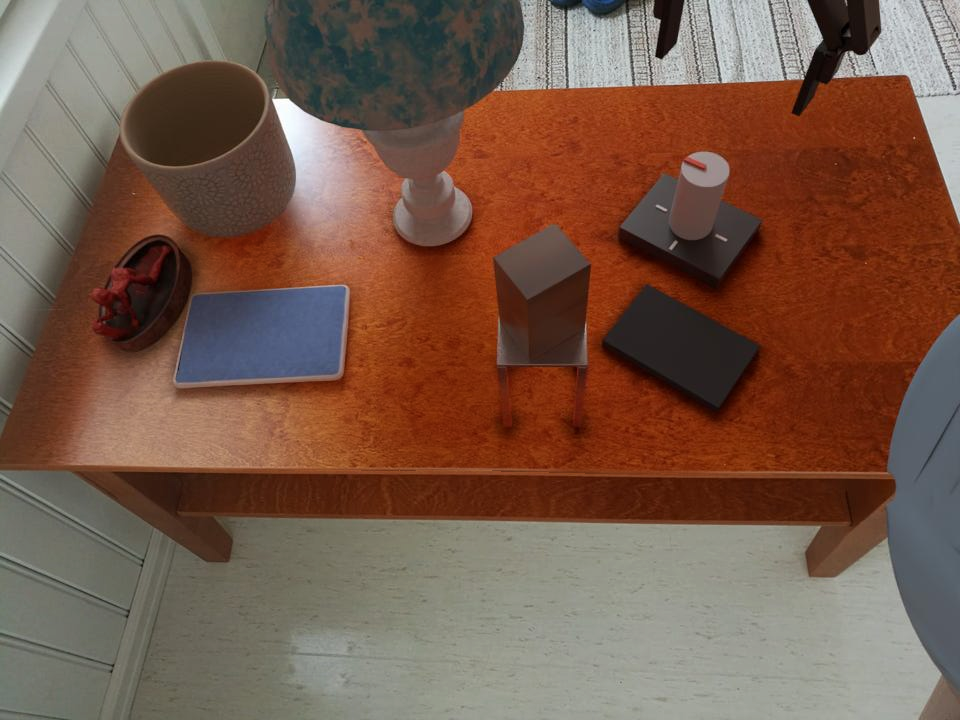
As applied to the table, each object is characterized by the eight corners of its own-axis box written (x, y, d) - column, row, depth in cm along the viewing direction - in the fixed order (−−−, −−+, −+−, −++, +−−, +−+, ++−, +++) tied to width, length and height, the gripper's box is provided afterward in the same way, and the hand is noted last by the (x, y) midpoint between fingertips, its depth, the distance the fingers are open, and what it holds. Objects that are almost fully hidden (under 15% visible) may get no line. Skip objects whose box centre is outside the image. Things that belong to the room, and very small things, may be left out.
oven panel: (758, 230, 87) (763, 218, 85) (715, 289, 84) (720, 278, 82) (661, 183, 91) (664, 171, 90) (617, 237, 88) (619, 226, 86)
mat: (757, 350, 80) (760, 345, 78) (716, 412, 76) (718, 408, 75) (645, 289, 84) (646, 283, 83) (601, 345, 81) (602, 340, 80)
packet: (499, 322, 67) (492, 256, 59) (553, 291, 69) (555, 222, 60) (529, 362, 65) (527, 300, 56) (585, 329, 66) (591, 264, 58)
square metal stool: (579, 360, 81) (585, 288, 68) (580, 427, 77) (587, 364, 65) (506, 359, 81) (499, 289, 69) (504, 426, 78) (496, 364, 65)
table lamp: (365, 138, 99) (268, -202, 64) (542, 153, 95) (541, -199, 60) (315, 285, 88) (164, -28, 53) (511, 308, 84) (489, -11, 49)
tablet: (174, 391, 83) (169, 385, 82) (193, 297, 89) (189, 291, 88) (344, 383, 82) (341, 377, 80) (352, 288, 88) (349, 281, 86)
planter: (297, 254, 90) (254, 167, 77) (165, 257, 92) (100, 171, 78) (316, 152, 98) (280, 56, 85) (194, 155, 100) (140, 62, 86)
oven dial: (720, 218, 86) (739, 161, 78) (699, 247, 84) (716, 192, 76) (681, 200, 87) (696, 142, 79) (660, 228, 86) (672, 172, 78)
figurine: (192, 348, 85) (111, 312, 77) (135, 370, 89) (52, 339, 81) (203, 240, 92) (129, 196, 83) (149, 265, 96) (73, 226, 87)
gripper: (1022, -166, 45) (883, 104, 64) (666, -253, 54) (635, 7, 73) (976, -105, 43) (846, 158, 61) (610, -207, 51) (592, 51, 70)
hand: (731, 77), depth 67 cm, fingers open, 13 cm apart
